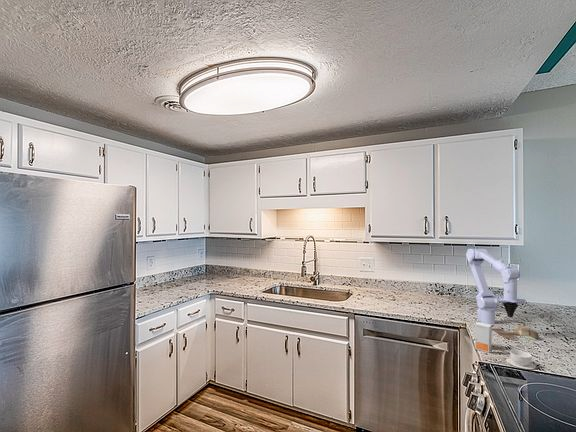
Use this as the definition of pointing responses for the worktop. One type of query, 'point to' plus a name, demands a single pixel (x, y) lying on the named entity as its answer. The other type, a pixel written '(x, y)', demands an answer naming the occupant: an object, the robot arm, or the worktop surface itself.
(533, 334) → the box
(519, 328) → the birch block
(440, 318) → the worktop surface
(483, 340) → the skincare box
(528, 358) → the teacup
